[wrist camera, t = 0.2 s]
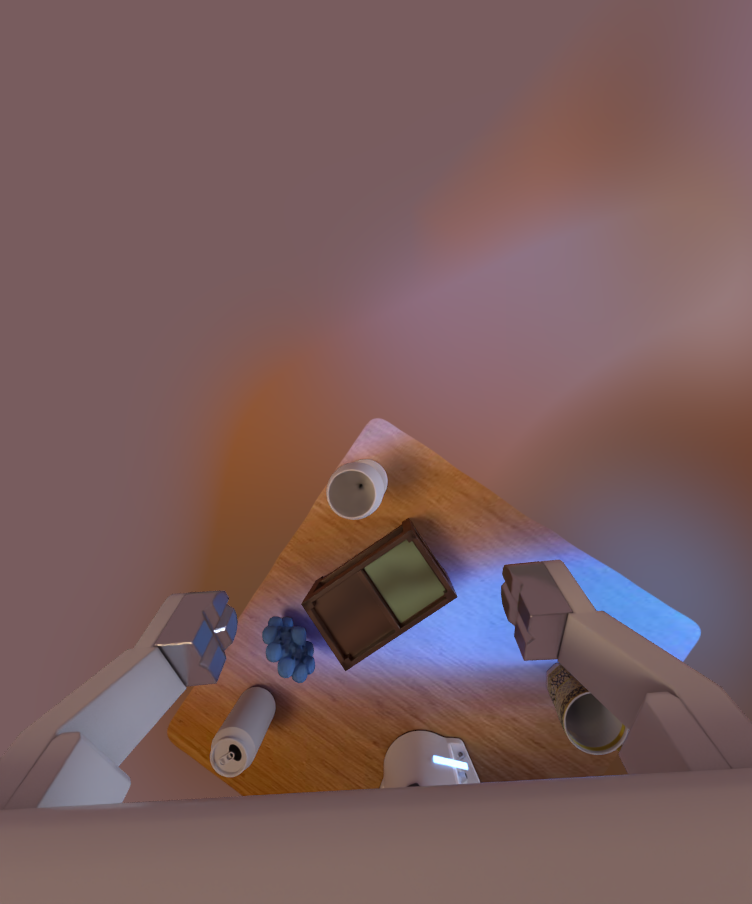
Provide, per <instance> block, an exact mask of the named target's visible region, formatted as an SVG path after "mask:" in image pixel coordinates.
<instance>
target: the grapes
mask: <svg viewBox="0 0 752 904" xmlns="http://www.w3.org/2000/svg"><path fill="white" fill-rule="evenodd" d="M262 638H263V641H264V643H265V644H268V646H267V648H266V657H267V660H269V661H270V662H277V661H279V662H278V673H279V675H280V676H281V677H283V678H289V677H290V676H292V679H293V680H294V681H295V682H298V683H303V682H304V681H305V680H306V678H307V675H309V674H311V673H313V672H314V669H315V661H314V658H313V657H312V656H313V653H314V648H313V644H312V642H309V641H306V630H305V628H303V627H300V626H296V627H293V620H292V618H290V617H283V618H282V619H281V618H280V617H277V616H275V617H272V618H270V620H269V622H268V626H267V627H266V628H265V629H264V630H263V634H262Z"/></svg>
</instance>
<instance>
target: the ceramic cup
mask: <svg viewBox="0 0 752 904" xmlns="http://www.w3.org/2000/svg"><path fill="white" fill-rule="evenodd" d="M547 689H548V692H549V694H550V696H551V699H552V701H553V704H554V706H555V708H556V711H557V714H558V717H559V720H560V722H561V724H562V727H563V729H564V731H565V733H566V735H567V737H568V738H569V740H570V741H571V742H572V744H573V745H574V746H576V747H577V748H578V749H580V750H581V751H583V752H586V753H589V754H594V755H603V754H607V753H610V752H612V751H614V750H616V749H617V750H618V751H619V752H620V750H621V747H622V743H623V742H624V741H625V739H626V736H627V734H628V731H629V729H628V728H627V727H626V726H625V725H623V724H622V723H621V722H620V721H619V720H618V719H617V718H616V717H615V716H614V715H613V714H612V713H611V712H610V711H609V710H608V709H607V708H606V707H605V706H604V705H603V704H602V703H601V702H600V701H599V700H598V699H597V698H595V697H594V696H593V695H592V694H591V693H590V692H589V691H588V690H587V689H586V688H585V687H584V686H583V685H582V684H581V683H580V682H579V681H578V680H577V679H576V678H575V677H574V676H573V675H572V674H571V673H570V672H568V671H567V670H566V669H565V668H564V667H563V666H562V665H561V664H560V663H556V664H554V665H553V666H552V667H551V668H550V669H549V670H548V671H547Z"/></svg>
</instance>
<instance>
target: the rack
mask: <svg viewBox="0 0 752 904" xmlns="http://www.w3.org/2000/svg"><path fill="white" fill-rule="evenodd" d="M455 598H457V594H456V592H455V590H454V588H453V586H452V583H451V581H450V579H449V577H448V575H447V573H446V571H445V570H444V569H443V568H442V567H441V565H440V564H439V563H438V561H437V560H436V558H435V557H434V555H433V554H432V552H431V551H430V549H429V548H428V546H427V545H426V544H425V542H424V541H423V539H422V538H421V536H420V535H419V533H418V532H417V530H416V529H415V527H414V525H413V523H412V522H411V520H410V519H409V518H408V519H406V520H405V521H403V522H402V525H401V526H399V527H398V528H396V529H395V530H393V531H392V532H390V533H389V534H388V535H386V536H385V537H383V538H382V539H380V540H379V541H377V542H376V543H374V544H373V545H371V546H370V547H368V548H367V549H365V550H364V551H362V552H361V553H359V554H358V555H357V556H355V557H354V558H352V559H351V560H349V561H348V562H346V563H345V564H343V565H342V566H340V567H339V568H337V569H336V570H334V571H333V572H331V573H330V574H328V575H327V576H325V577H324V578H323V576H322V577H321V578H319V579H318V580H316V581H315V583H314V585H313V586H312V588H311V589H310V591H309V593H308V594H307V596H306V597H305V599H304V601H303V602H302V604H301V605H302V606H303V608H304V609H305V611H306V612H307V614H308V615H309V617H310V618H311V620H312V621H313V623H314V624H315V626H316V627H317V629H318V630H319V632H320V633H321V635H322V636H323V638H324V639H325V641H326V642H327V644H328V645H329V647H330V648H331V650H332V651H333V653H334V654H335V656H336V657H337V659H338V660H339V662H340V664H341V665H342V667H343V668H344V670H345V671H346V670H348V669H350V668H351V667H353V666H354V665H355V664H357V663H358V662H360V661H361V660H363V659H365V658H366V657H368V656H369V655H371V654H372V653H374V652H375V651H377V650H378V649H380V648H381V647H383V646H384V645H386V644H387V643H389V642H390V641H392V640H393V639H395V638H396V637H398V636H399V635H401V634H402V633H404V632H405V631H407V630H408V629H410V628H411V627H413V626H414V625H416V624H417V623H419V622H420V621H422V620H423V619H425V618H426V617H428V616H430V615H431V614H433V613H434V612H436V611H437V610H439V609H440V608H442V607H443V606H445V605H446V604H448V603H449V602H451V601H452V600H454V599H455Z"/></svg>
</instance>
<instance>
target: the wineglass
mask: <svg viewBox="0 0 752 904" xmlns="http://www.w3.org/2000/svg"><path fill="white" fill-rule="evenodd" d="M387 483H388V480H387V475H386V472H385V470H384V469H383V467H382V466H381V465H380V464H378V463H377V462H375V461H373V460H369V459H362V460H358V461H355V462H352V463H347V464H345V465H343V466H341V467H339V468H338V469H337V470H336V471H335V472H334V473H333V474H332V476H331V477H330V479H329V482H328V485H327V490H326V494H327V500H328V503H329V505H330V507H331V509H332V510H333V511H334V512H335V513H336V514H337V515H339V516H341V517H343V518H346V519H352V520H356V519H362V518H365V517H367V516H369V515H370V514H372V513H373V512H374V511H375V510H376V509H377V508H378V507H379V505H380V503H381V501H382V498H383V495H384V493H385V491H386V489H387Z"/></svg>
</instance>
